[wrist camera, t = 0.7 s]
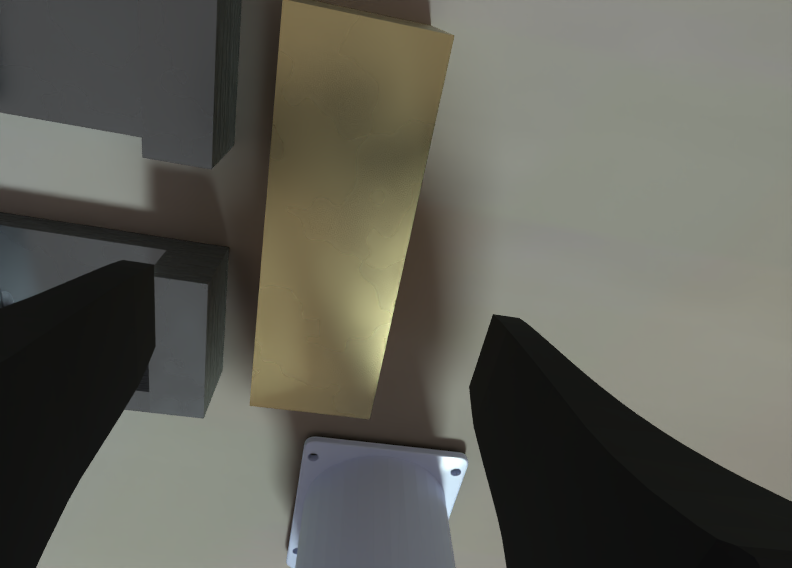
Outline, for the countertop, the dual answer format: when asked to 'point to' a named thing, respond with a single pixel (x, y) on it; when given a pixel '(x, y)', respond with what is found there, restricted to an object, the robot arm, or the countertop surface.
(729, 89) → the countertop surface
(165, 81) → the chain end
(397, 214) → the link bar
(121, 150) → the countertop surface
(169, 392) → the chain end
